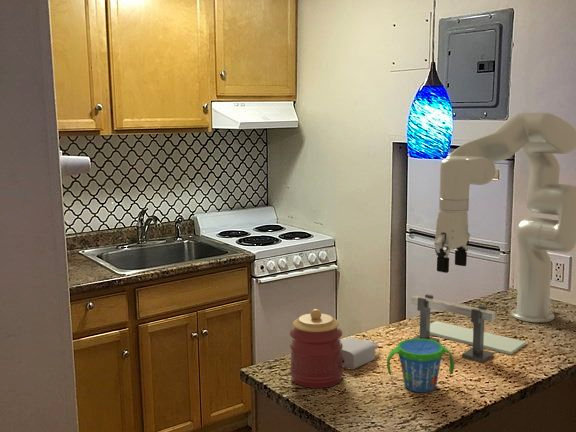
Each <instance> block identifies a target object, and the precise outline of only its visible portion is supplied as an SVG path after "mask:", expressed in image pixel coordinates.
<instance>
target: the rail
mask: <svg viewBox="0 0 576 432" xmlns="http://www.w3.org/2000/svg"><path fill="white" fill-rule="evenodd" d="M419 297H420V298H425V299H426V307H428V308H431V309H433V310H438V311H442V312H446V313H451V314H457V315H460V316H466V317H468V318H471V309H478V310H480V319H483V320H484V321H487V322H493V321H495V320H496V318H497V311H493V310H490V309H487V310H485V309H481V308H478V307H476V306H475V307H474V306H471V305H465V304H460V303H456V302H451V301H446V300H443V299H442V300H441V299H437V298H433V299H432V298H427V297H425V296H422V295H417V294H416V295H414V294H413V295H412V296H411V297H410V304H411V305H414V306H418V298H419Z"/></svg>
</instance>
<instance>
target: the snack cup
mask: <svg viewBox="0 0 576 432" xmlns="http://www.w3.org/2000/svg"><path fill="white" fill-rule="evenodd" d="M444 353H446V354H448V356H449V369H448V373H450V374H453V372H454V369H455V361H454V356H453V354H452V353H451V352H450V350H449V349H448V348H447V347H445V346H444V345H442V344H441V343H440V342H439V343H438V342H436V341H433V340H428V339H413V338H409V339H405V340H402V341H400V342H399V343H398V345H397V346H396V347H395V348H393V349H391V351H390V352H389V354H388V356H387V359H386V367H387V372H388V374H389V376H391V374H392V371H391V364H390V361H391V359H392V358H393V356H394V355H395V354H398V358H399V362H400V366H401V372H402V373H401V374H402V379H403V383H404V386H405V388H407V389H409V390H410V391H412V392H415V393H426V392H433V391H434V389H435V388H436V387H437V384H438V380H439V373H440V367H441V361H442V358H443V355H444Z"/></svg>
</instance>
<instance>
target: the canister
mask: <svg viewBox="0 0 576 432" xmlns="http://www.w3.org/2000/svg"><path fill="white" fill-rule="evenodd" d="M292 326H293V327H292V328H291V329H290V330H289V336H290V337H291V342H290V344H289V348H290V368H289V371H290V372H289V374H290V378H291V380H292V381H293V383H295V384H297V385H299V386H301V387H304V388H309V389H310V388H311V389H321V388H328V387H329V388H330V387H331V386H335V385H337V384H339V383H340V382H341V381H342V378H343V374H344V373H343V370H344V367H343V366H342V347H343V345H342V343H341V338H342V336H343V330H342V329H341V328H340V327H339V326H340V322H339V320H337V319H336V318H334V317H333V316H332V315H330V314H326V313H322V312H321V310H320V309H318V308H313V309H312V310H311V312H310V313H305V314H302V315H300V316H299V317H298V318H296V319H295V320H293V322H292Z"/></svg>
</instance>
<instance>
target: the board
mask: <svg viewBox="0 0 576 432" xmlns="http://www.w3.org/2000/svg"><path fill="white" fill-rule="evenodd" d="M418 332H419V333H420V328H419V329H418ZM430 336H434V337H437V338H438V337H439V338H442V339H445V340H450V339H451V340H450V341H454V342H459V343H462V342H463V343H462V344H466V345H470V346H473V329H472V328H468V327H464V326H459V325H455V324H451V323H447V322H443V321H438V320H435V321H433V322H430ZM526 344H527V342H526V341H524V340H520V339H516V338H511V337H507V336H503V335H499V334H494V333H490V332H486V331H484V342H483V349H486V350H490V351H494V352H499V353H502V354H507V355H513V354H514V353H515V352H517V351H519V350H520V349H521V348H523V347H524V346H525V345H526Z"/></svg>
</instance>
